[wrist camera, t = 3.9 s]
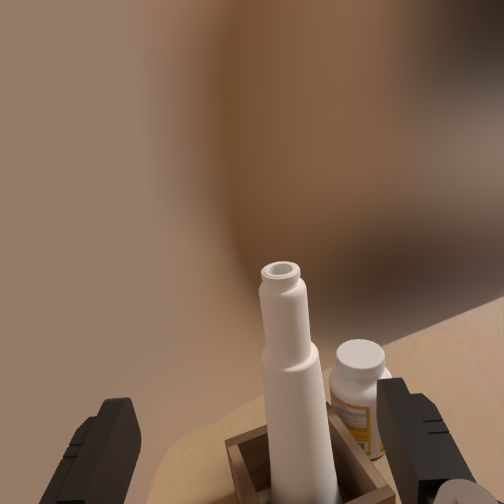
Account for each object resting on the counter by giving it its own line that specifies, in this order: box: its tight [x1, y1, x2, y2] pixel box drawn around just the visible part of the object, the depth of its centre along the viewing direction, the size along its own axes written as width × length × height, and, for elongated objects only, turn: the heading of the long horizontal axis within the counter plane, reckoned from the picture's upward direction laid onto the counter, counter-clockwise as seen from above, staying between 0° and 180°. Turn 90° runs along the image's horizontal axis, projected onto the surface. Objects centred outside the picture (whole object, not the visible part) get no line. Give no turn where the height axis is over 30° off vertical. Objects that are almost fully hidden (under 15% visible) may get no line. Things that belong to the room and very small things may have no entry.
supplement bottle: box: [330, 339, 392, 459], centre depth 37 cm, size 5×5×10 cm
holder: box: [225, 402, 396, 504], centre depth 31 cm, size 9×9×6 cm
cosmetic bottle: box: [259, 262, 343, 504], centre depth 28 cm, size 6×6×22 cm
